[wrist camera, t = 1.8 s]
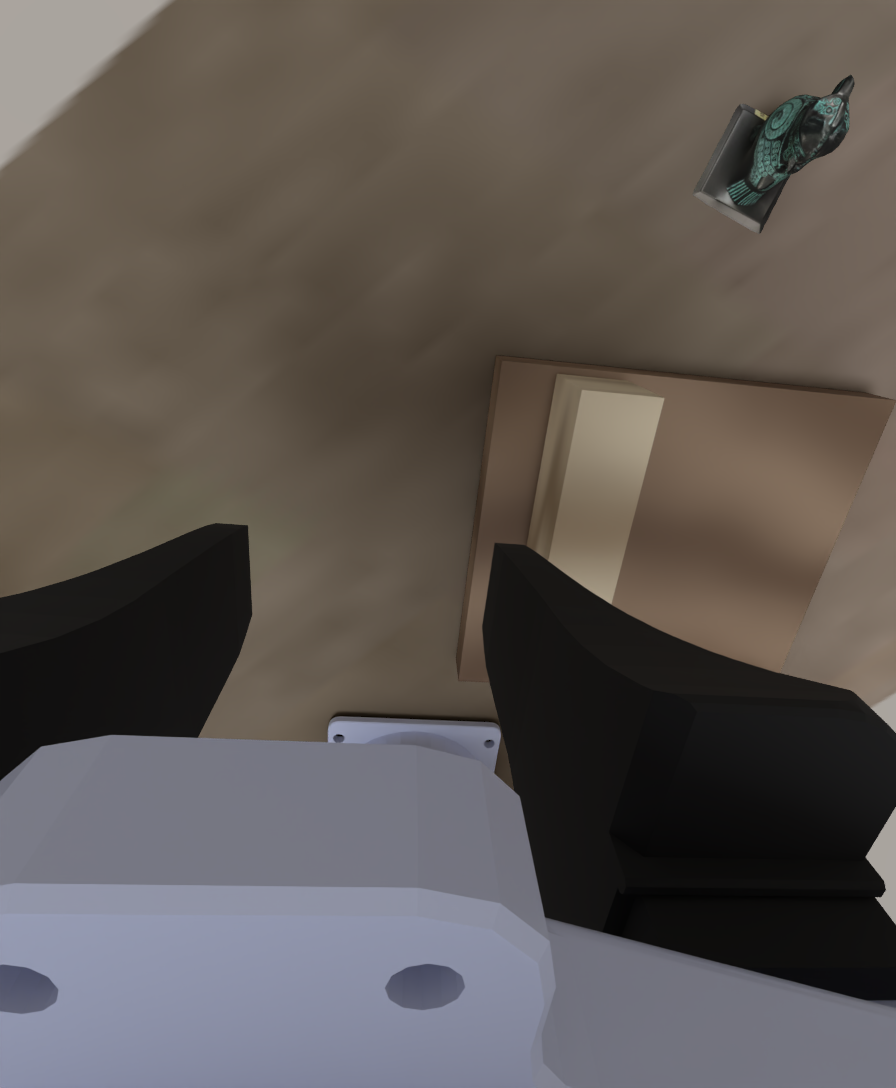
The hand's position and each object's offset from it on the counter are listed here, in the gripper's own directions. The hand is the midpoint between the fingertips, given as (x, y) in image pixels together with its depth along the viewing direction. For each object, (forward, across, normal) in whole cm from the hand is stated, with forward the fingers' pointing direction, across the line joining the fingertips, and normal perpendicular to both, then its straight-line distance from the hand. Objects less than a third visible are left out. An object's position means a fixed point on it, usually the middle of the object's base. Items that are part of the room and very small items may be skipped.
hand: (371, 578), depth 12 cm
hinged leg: (+9, -7, +2) cm, 11 cm away
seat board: (+10, -10, +3) cm, 15 cm away
